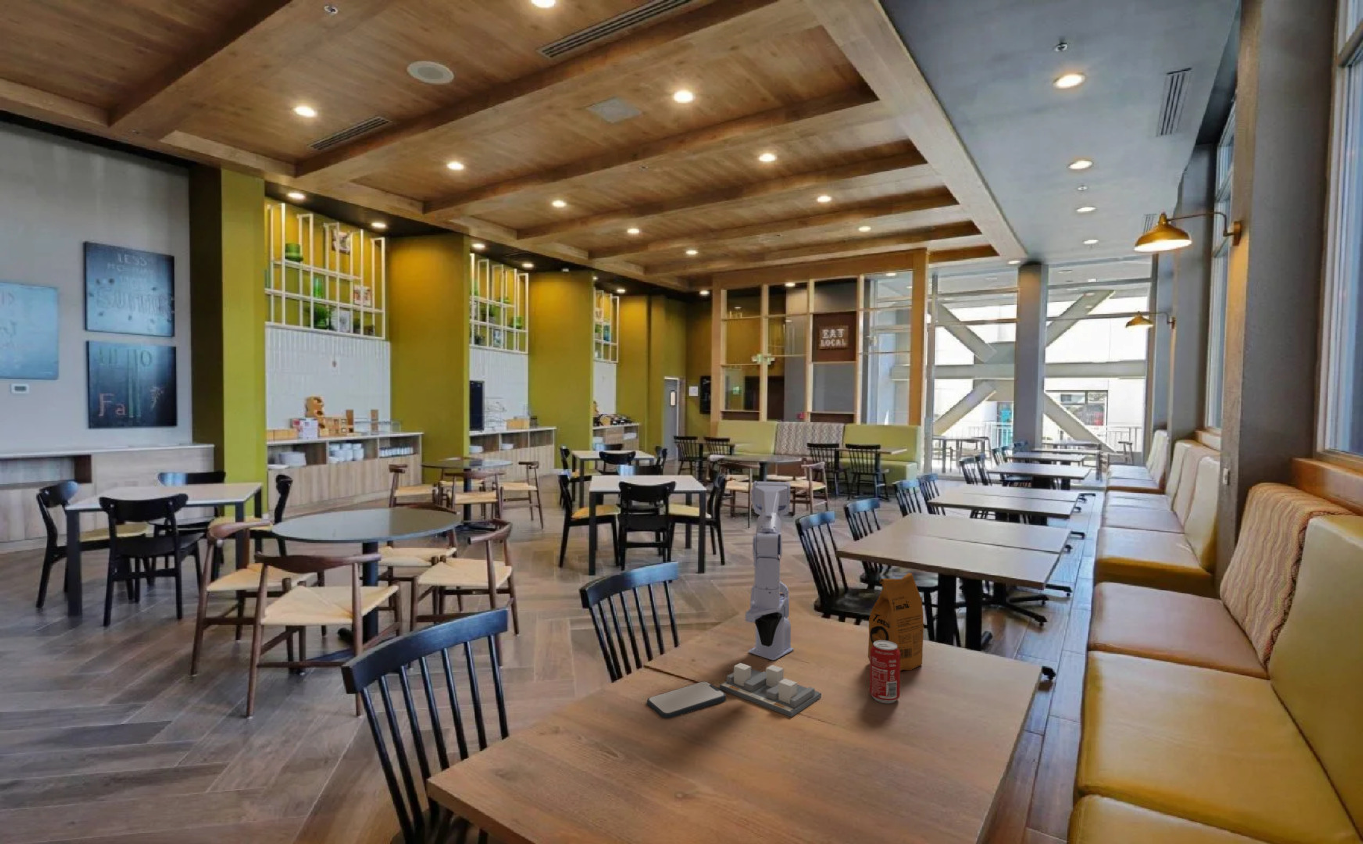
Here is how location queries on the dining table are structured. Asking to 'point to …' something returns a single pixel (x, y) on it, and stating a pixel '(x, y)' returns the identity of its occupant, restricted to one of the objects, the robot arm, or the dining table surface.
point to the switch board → (763, 694)
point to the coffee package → (899, 620)
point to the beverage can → (885, 671)
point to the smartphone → (686, 699)
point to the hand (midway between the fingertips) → (766, 644)
